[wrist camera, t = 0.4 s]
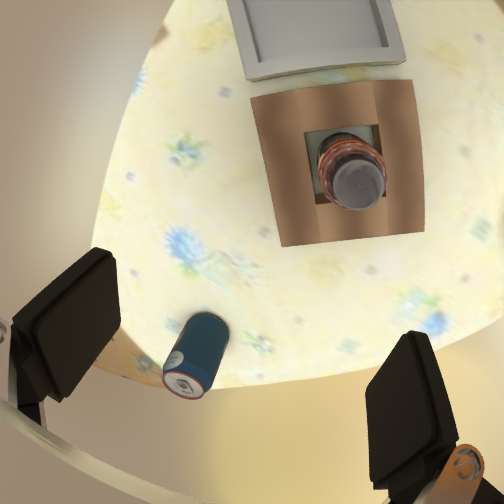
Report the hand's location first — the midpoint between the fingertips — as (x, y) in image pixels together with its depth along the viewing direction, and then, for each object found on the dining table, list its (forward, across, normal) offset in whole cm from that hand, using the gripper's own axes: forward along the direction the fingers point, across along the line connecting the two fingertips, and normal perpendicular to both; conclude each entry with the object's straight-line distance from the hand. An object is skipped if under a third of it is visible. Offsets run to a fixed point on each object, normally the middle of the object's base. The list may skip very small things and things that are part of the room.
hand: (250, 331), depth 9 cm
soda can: (+27, +6, +27) cm, 38 cm away
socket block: (+26, -5, -2) cm, 27 cm away
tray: (+26, +2, -19) cm, 32 cm away
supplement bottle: (+26, -5, -2) cm, 27 cm away
